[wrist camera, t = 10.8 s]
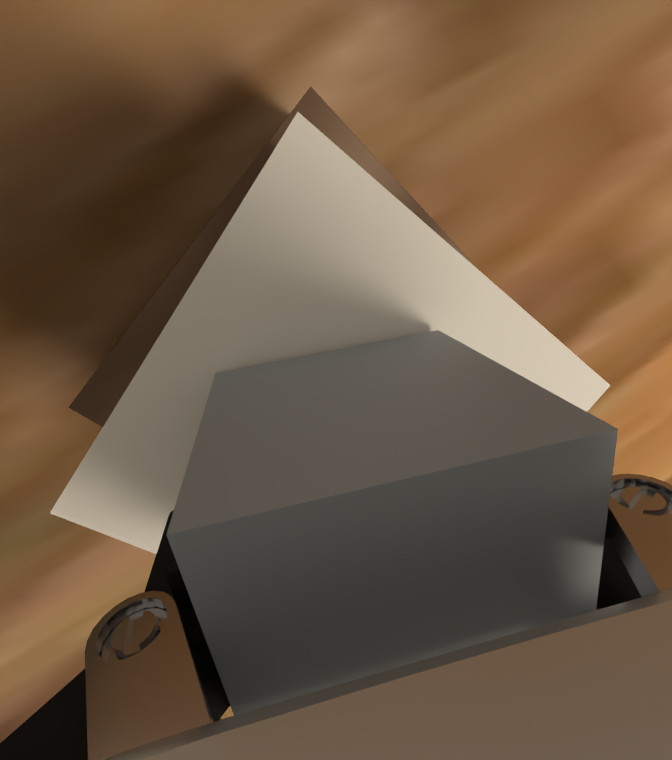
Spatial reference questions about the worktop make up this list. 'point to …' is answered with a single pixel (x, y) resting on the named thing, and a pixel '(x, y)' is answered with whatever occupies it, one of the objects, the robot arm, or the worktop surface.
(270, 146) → the walnut base block
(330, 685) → the slate-grey cube
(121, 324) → the worktop surface
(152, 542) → the off-white top block
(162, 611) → the robot arm
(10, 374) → the worktop surface
